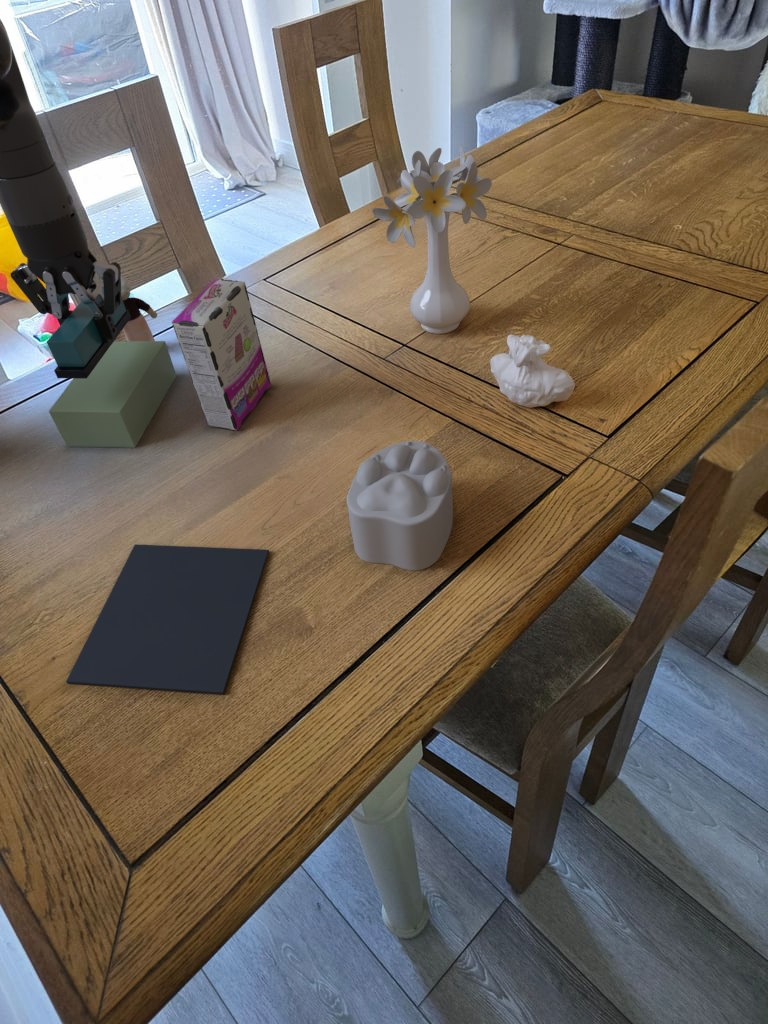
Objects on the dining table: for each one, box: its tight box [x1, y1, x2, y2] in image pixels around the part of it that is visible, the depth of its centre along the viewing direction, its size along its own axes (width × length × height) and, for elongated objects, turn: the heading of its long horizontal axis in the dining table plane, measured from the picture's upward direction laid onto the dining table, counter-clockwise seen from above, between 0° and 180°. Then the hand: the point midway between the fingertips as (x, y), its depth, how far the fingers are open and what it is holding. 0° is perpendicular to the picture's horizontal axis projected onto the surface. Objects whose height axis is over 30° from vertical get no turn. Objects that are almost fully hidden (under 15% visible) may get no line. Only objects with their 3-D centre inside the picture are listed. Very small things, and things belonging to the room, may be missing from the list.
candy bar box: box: [171, 278, 272, 432], centre depth 92 cm, size 11×5×16 cm, turn 161°
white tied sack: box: [489, 333, 576, 408], centre depth 90 cm, size 12×8×11 cm
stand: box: [48, 340, 177, 449], centre depth 98 cm, size 10×17×6 cm, turn 173°
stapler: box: [46, 286, 131, 379], centre depth 91 cm, size 15×4×5 cm, turn 173°
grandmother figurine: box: [121, 275, 158, 341], centre depth 106 cm, size 8×4×13 cm, turn 130°
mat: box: [65, 544, 270, 696], centre depth 73 cm, size 16×18×1 cm
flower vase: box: [371, 141, 493, 335], centre depth 100 cm, size 13×18×25 cm
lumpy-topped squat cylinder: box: [346, 440, 454, 572], centre depth 76 cm, size 10×13×9 cm
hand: (93, 339), depth 92 cm, fingers closed on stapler, 4 cm apart
